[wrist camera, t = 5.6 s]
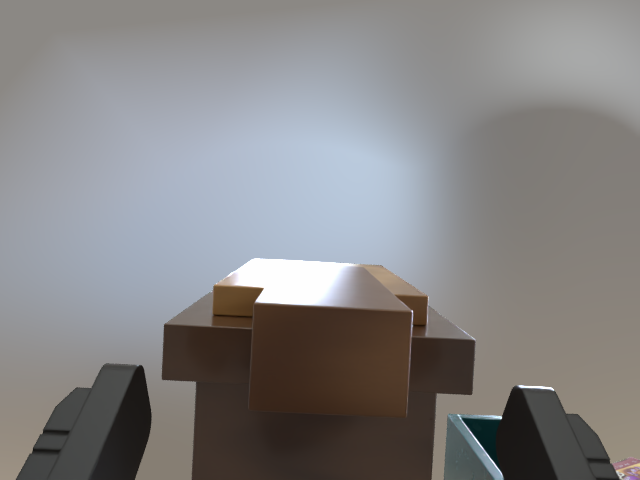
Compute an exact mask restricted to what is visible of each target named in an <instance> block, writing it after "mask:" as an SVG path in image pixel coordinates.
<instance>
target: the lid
mask: <svg viewBox="0 0 640 480" xmlns="http://www.w3.org/2000/svg"><path fill="white" fill-rule="evenodd" d="M428 301H429V297H428V296H427V295H425V294H424V293H422V292H421V291H420V290H418V289H416V288H415V287H413V286H412V285H410V284H409V283H407V282H405V281H404V280H402V279H401V278H400V277H398V276H397V275H395V274H393V273H392V272H390V271H389V270H387V269H386V268H384V267H383V266H381V265H364V264H346V263H326V262H308V261H307V262H305V261H289V260H270V259H253V260H251V261H250V262H248V263H247V264H245V265H244V266H242V267H241V268H239V269H238V270H236V271H235V272H233V273H232V274H230V275H229V276H227V277H226V278H224V279H223V280H221V281H220V282H218V283H217V284H215V285H214V287H213V307H212V314H213V315H220V316H240V317H253V323H252V343H251V363H250V383H249V403H248V409H249V410H250V411H263V412H284V413H305V414H326V415H347V416H368V417H389V418H406V416H407V403H408V387H409V370H410V354H411V337H412V325H417V326H426V325H427V318H428Z"/></svg>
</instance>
